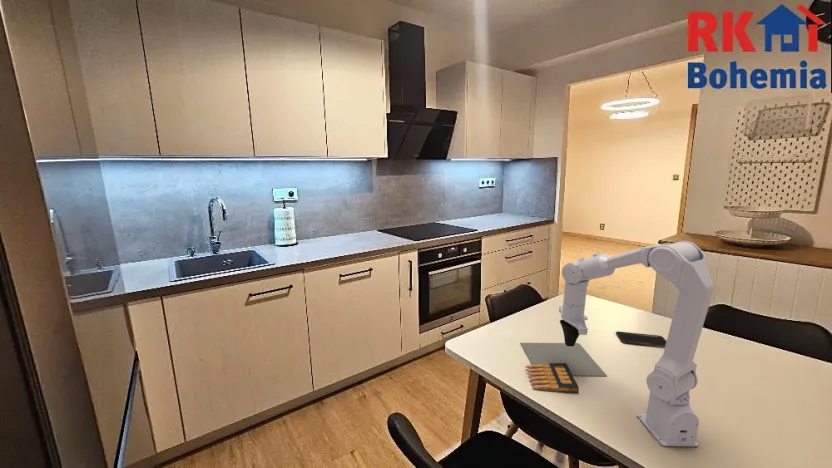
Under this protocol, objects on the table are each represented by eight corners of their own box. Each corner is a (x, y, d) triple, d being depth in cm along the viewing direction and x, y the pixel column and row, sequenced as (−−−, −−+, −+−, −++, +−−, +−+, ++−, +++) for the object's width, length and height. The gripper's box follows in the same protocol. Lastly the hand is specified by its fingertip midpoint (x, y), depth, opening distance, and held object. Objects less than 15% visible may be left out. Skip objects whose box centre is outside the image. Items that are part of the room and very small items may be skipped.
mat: (606, 376, 100) (606, 375, 100) (537, 375, 100) (537, 374, 100) (578, 343, 117) (579, 343, 117) (520, 343, 118) (520, 342, 118)
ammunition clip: (565, 368, 103) (524, 367, 104) (566, 362, 102) (524, 362, 103) (578, 393, 92) (532, 392, 94) (579, 387, 92) (532, 386, 93)
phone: (615, 331, 125) (661, 335, 121) (614, 333, 125) (661, 338, 122) (622, 342, 117) (672, 347, 114) (622, 345, 117) (672, 350, 114)
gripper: (601, 313, 92) (595, 359, 94) (577, 292, 106) (572, 333, 109) (574, 313, 92) (569, 359, 95) (553, 292, 106) (550, 332, 109)
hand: (569, 345), depth 102 cm, fingers closed
